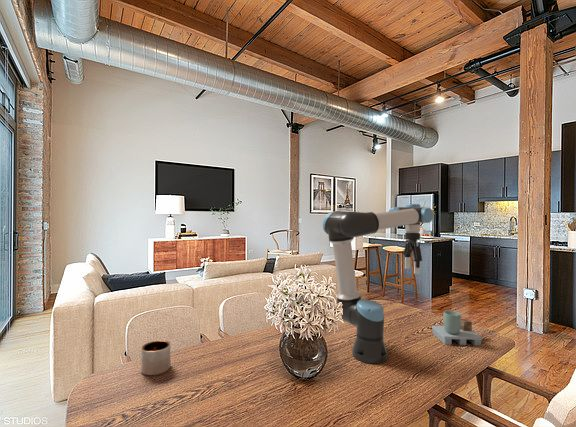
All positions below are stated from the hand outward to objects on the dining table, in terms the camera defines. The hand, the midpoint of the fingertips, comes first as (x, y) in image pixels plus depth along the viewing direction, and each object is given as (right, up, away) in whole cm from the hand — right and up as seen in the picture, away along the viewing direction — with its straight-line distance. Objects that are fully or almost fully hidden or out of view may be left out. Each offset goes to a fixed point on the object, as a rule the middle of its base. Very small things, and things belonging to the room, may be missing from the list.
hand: (412, 271), depth 169 cm
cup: (+14, -28, -14) cm, 35 cm away
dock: (+17, -32, -12) cm, 38 cm away
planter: (-121, -31, -44) cm, 132 cm away
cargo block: (+23, -28, -9) cm, 38 cm away
